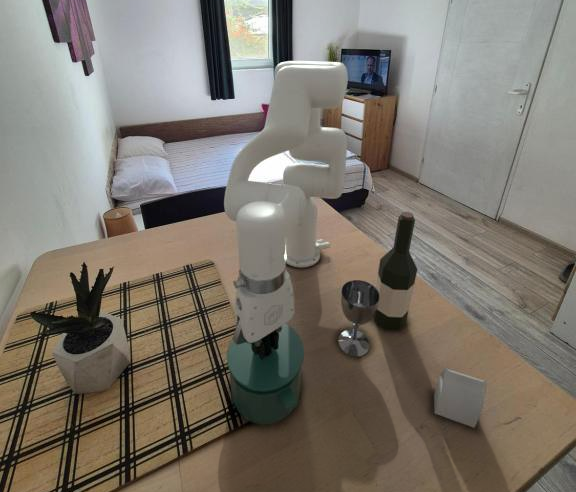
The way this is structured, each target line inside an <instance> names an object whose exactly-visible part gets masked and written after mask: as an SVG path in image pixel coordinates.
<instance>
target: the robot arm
mask: <svg viewBox="0 0 576 492" xmlns="http://www.w3.org/2000/svg"><path fill="white" fill-rule="evenodd" d="M273 73H274V74H273V75H274V79H273V84H272V90H271V93H270V97H269V98H270V99H269V103H268V108H267V113H266V118H265V122H264V123H265V124H264V127H263V129H262V130H261V131H259V133H257V134H256V135H255V136H253V137H252V138H251V139H250V140H248V142H246V144H245V145H244V146H243V147H242V148H241V149H240V151H238V153H237V154H236V156H235V158H234V159H233V162H232V164H231V166H230V170H229V175H228V178H227V183H226V187H225V191H224V199H223V207H224V213H225V214H226V217H228V219H229V220H231V221H233V222H235V225H236V239H237V251H238V263H239V264H238V265H239V270H238V277H237V278H236V279H235V280H233V286H234V288H235V289H236V291H235V296H234V297H235V298H234V322H235V326H236V327H235V329H234V332H233V335H232V337H231V340H232V339H233V341H234V342H235V344H236V345H238V344H242V343H244V342H247V343H250V344H251V346H252V351H253V353H254V354H255V355H257V354H258V356H259V357H260V358H261V360H262V359H264V357H265V347H264V342H263V341H262V338H263V337H265V336H266V335H268V334H269V333H271V332H272V347H273V348H274V350H277V349H278V348H279V346H278V340H279V332H281V330H282V325H283V324H287V323H288V322H289V321H290V320H292V319H293V317H294V315H295V296H294V287H293V284H292V281H291V280H292V279H291V277H290V276H291V275H290V274H289V272H288V271H287V270H286V264H287V265H289V266H291V267H295V268H308V267H312V266H314V265H315V264H317V263H318V262H319V260H320V259H321V251H322V250H326V249H330V248H331V243H330V242H329V241H325V242H324V239H323V238H322V239H317V232H318V231H317V230H318V229H317V228H318V210H319V209H318V204H317V202H316V201H315V199H314V198H320V199H329V200H331V199H332V200H333V199H334V200H335V199H339V198H340V197H341V196H342V195H343V193H344V188H345V179H346V164H347V151H348V139H347V134H346V133H345V131H344V130H342V129H341V128H338V127H327V126H321V115H322V113H321V112H322V111H321V110H322V109H324V110H325V109H326V110H327V109H328V110H335V109H338V108H340V107H341V106H342V104H343V102H344V99H345V96H346V92H347V88H348V83H349V82H348V81H349V75H348V69H347V66H346V65H345V64H344V63H343V62H339V61H313V60H312V61H311V60H287V61H283V62H280V63H278V64H277V65H276V66H275V67H274V72H273ZM285 152H289V156H290V157H291V158H292V159H294V160H298V161H304V162H293V163H289V164H288V165H286V167H285V168H284V170H283V173H282V183H283V184H282V183H273V182H266V181H265V182H264V181H253V180H249V178H250V176H251V174H252V172H253V170H254V169H256V168H257V166H258V165H259V164H261V163H262V162H264V161H266V160H268V159H269V158H272V157H275V156H277V155H280V154H282V153H285ZM309 162H317V163H309ZM320 163H325V164H320Z"/></svg>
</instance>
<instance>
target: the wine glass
mask: <svg viewBox="0 0 576 492" xmlns="http://www.w3.org/2000/svg"><path fill="white" fill-rule="evenodd" d="M340 292H341V293H340V303H341V304H340V305H341V310H342V314H343V315H344V318H345V319H346V320H347V321H348V322H350V323H351V324H352V327H353V329H346V330H344V331H342V332H341V333H340V335H339V336H338V345H339V347H340V349H341V351H343V352H344V354H346V355H349V356H351V357H357V358H359V357H362V356H365V355H366V354H367V353H368V352H369V351H370V340H369V338H368V337H367V336H366V335H365V334H364V333H363V332H361V331H360V330H359V328H360V326H364V325H367V324H369V323H370V322H371V321H372V320H374V315H375V313H376V311H377V308H378V304H379V292H378V290H377V289H376V286H375V285H373V284H371V283H370V282H368V281H365V280H362V279H353V280H348V281H347V282H345V284H343V285H342V287H341V291H340Z"/></svg>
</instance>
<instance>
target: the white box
mask: <svg viewBox="0 0 576 492" xmlns="http://www.w3.org/2000/svg"><path fill="white" fill-rule="evenodd" d="M487 382H488V381H487V380H483V379H480V378H478V377H474V376H471V375H468V374H464V373H462V372H458V371H455V370H452V369H449V368H444V369H443V371H442V372H441V373H440V374H439V378H438V381H437V383H436V387H435V391H434V394H433V403H434V405H433V407H434V414H435V415H438V416H440V417H443V418H446V419H449V420H451V421H454V422H457V423H459V424H463V425H465V426H468V427H471V428H473V429H475V428H476V425H477V423H478V420H479V418H480V416H481V414H482V411H483V408H484V404H485V397H486V396H485V395H486V390H487V386H488V383H487Z"/></svg>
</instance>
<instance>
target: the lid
mask: <svg viewBox="0 0 576 492" xmlns="http://www.w3.org/2000/svg"><path fill="white" fill-rule="evenodd" d="M262 341H263V342H264V347H265V357H264V359H262V360H261V358H260V357H259V356H258V354H257V355H255V354H254V353H253V351H252V346H251V344H250V343H247V342H244V343H242V344H238V345H236V344H235V342H234V341H233V339H232V338H231V340H230V342H229V343H228V344H229V345H228V347H227V352H226V362H227V363H226V364H227V367H228V370H229V374H230V373H231V374H232V376H233V377H234V379H235V380H236V381H237V382H238V383H239V384H241V385H242V386H244V387H246V388H248V389H250V390H254V391H261V392H266V391H273V390H276V389H279V388H281V387H283V386H285V385H287V384H288V383H289V382H291V381H292V380H293V379H294V378H295V376H296V375H297V374H298V372H299V371H300V369H301V370H302V366H303V363H304V357H305V348H304V344H303V341H302V338H301V336H300V335H299V333H298V331H296V330H295V329H294V328H293V327H291V326H290V325H289V324H287V323H285V324H283V325H282V330H281V332H279V340H278V346H279V348H278V349H277V350H274V348H273V347H272V332H271V333H269V334H268V335H266V336H265V337H263V338H262Z"/></svg>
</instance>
